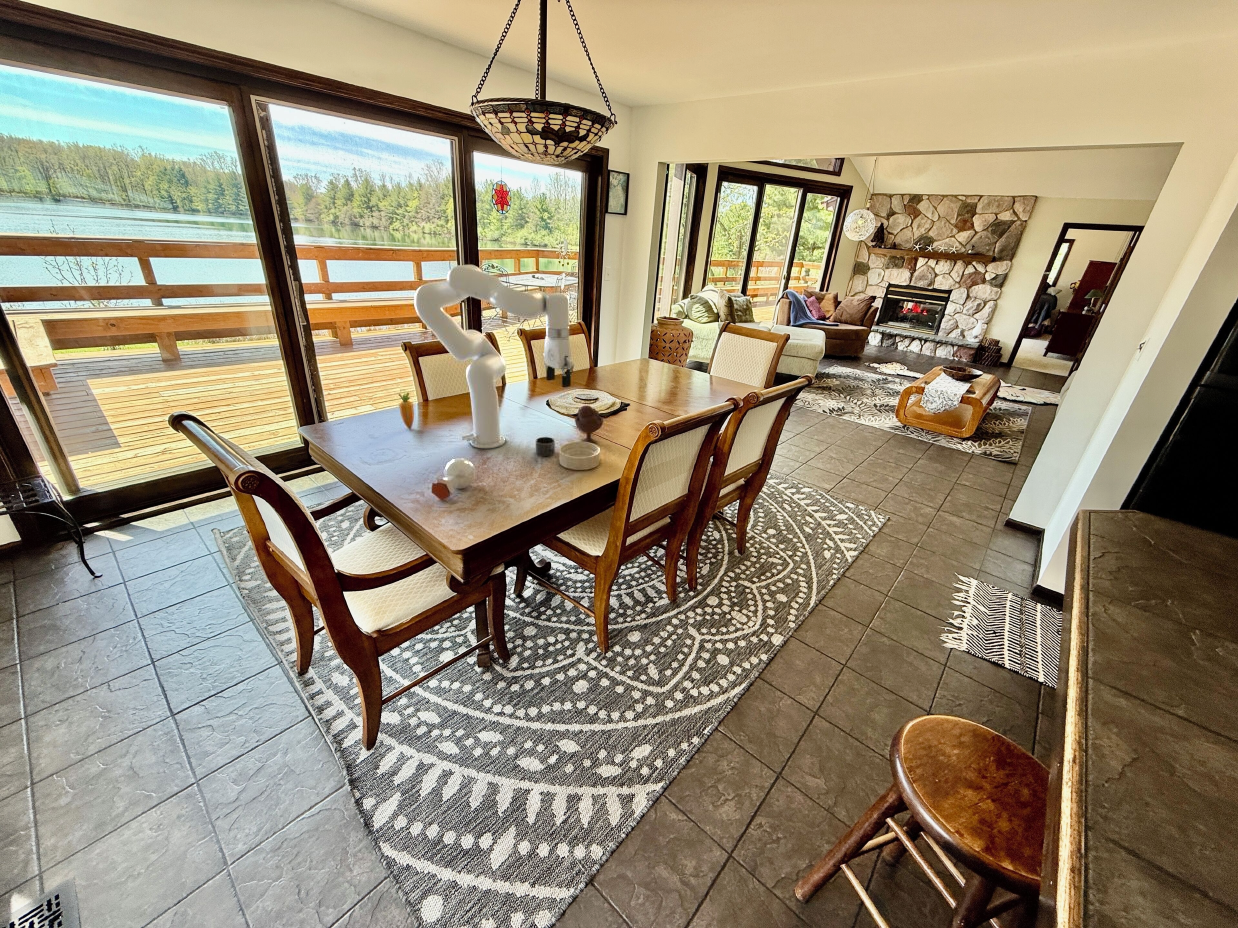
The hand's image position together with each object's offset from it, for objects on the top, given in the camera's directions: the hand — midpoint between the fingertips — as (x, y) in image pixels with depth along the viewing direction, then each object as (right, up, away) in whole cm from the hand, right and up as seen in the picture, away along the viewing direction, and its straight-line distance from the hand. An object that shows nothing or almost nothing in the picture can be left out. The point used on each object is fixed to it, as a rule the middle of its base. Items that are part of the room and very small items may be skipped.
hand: (558, 383), depth 166 cm
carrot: (-62, -14, +24) cm, 68 cm away
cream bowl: (+7, -27, +3) cm, 28 cm away
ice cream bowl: (+9, -20, +20) cm, 30 cm away
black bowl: (-6, -24, +9) cm, 26 cm away
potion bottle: (-29, -36, -19) cm, 50 cm away
